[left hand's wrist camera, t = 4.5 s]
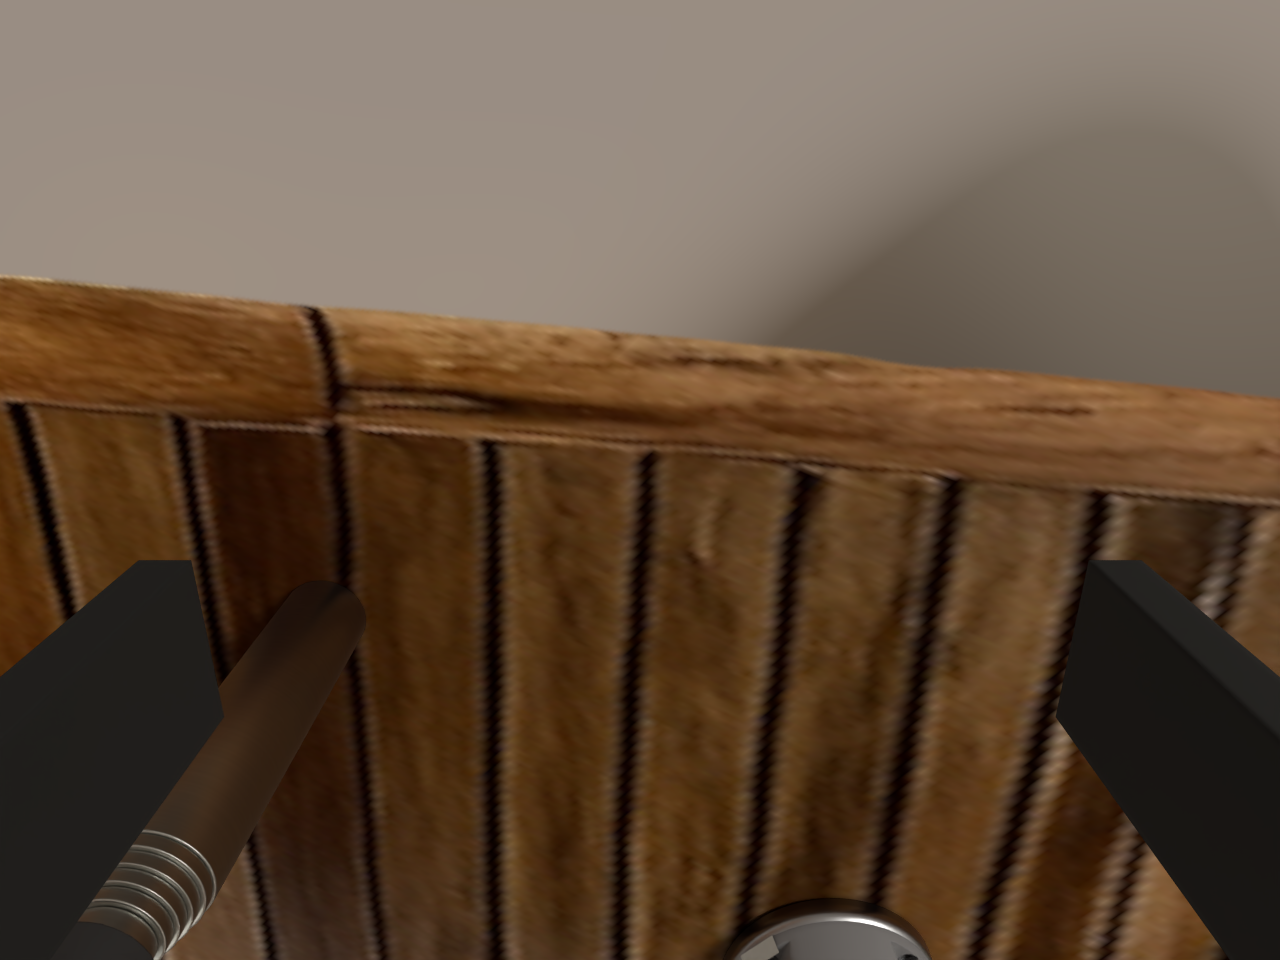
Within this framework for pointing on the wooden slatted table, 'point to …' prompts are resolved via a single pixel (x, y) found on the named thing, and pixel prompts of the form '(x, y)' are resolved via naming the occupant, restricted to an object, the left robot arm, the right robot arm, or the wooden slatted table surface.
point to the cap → (100, 944)
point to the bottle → (232, 769)
